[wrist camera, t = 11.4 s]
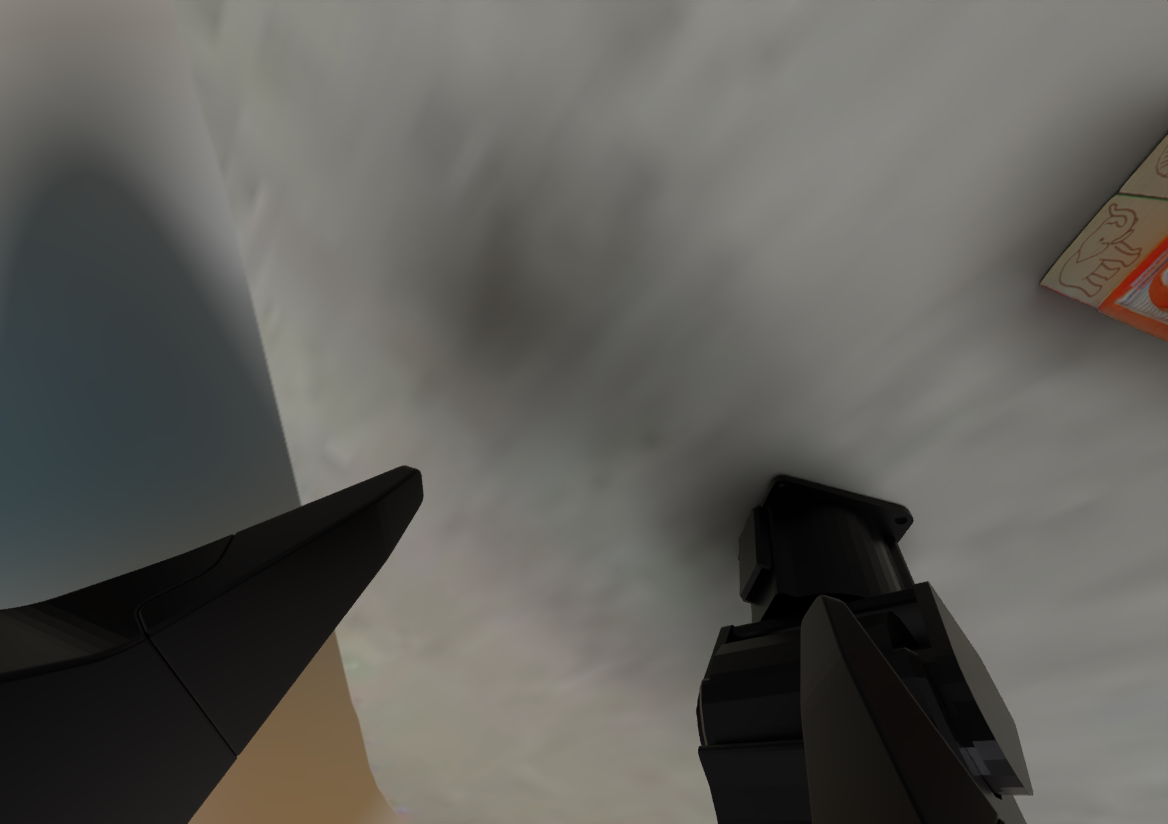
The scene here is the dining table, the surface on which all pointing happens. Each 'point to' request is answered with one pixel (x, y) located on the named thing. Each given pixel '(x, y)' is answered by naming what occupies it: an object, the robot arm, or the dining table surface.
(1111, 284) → the stack of blocks
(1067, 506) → the dining table surface
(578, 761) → the dining table surface
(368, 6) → the dining table surface
